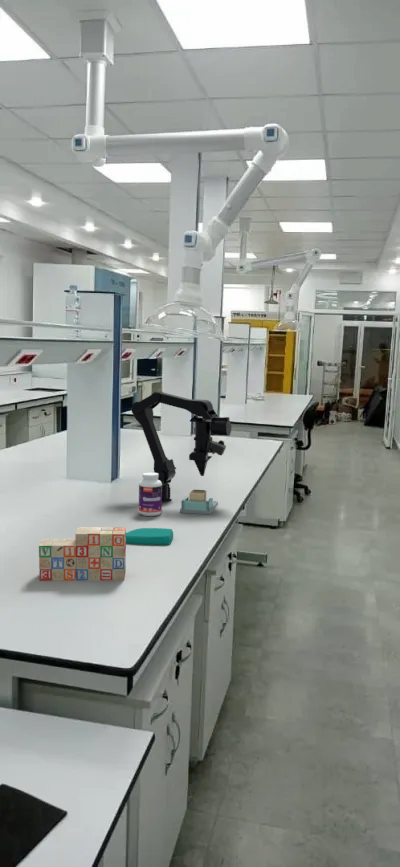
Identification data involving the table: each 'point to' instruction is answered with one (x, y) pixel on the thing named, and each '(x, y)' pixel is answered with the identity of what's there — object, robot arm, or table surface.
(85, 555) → the stack of blocks
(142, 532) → the teal flat block
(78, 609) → the table surface
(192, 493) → the cardboard box with slot
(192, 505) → the dock
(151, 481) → the pill bottle
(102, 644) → the table surface
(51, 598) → the table surface
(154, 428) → the robot arm
